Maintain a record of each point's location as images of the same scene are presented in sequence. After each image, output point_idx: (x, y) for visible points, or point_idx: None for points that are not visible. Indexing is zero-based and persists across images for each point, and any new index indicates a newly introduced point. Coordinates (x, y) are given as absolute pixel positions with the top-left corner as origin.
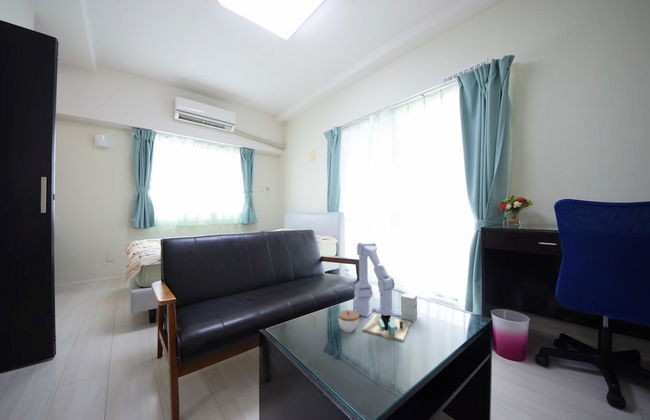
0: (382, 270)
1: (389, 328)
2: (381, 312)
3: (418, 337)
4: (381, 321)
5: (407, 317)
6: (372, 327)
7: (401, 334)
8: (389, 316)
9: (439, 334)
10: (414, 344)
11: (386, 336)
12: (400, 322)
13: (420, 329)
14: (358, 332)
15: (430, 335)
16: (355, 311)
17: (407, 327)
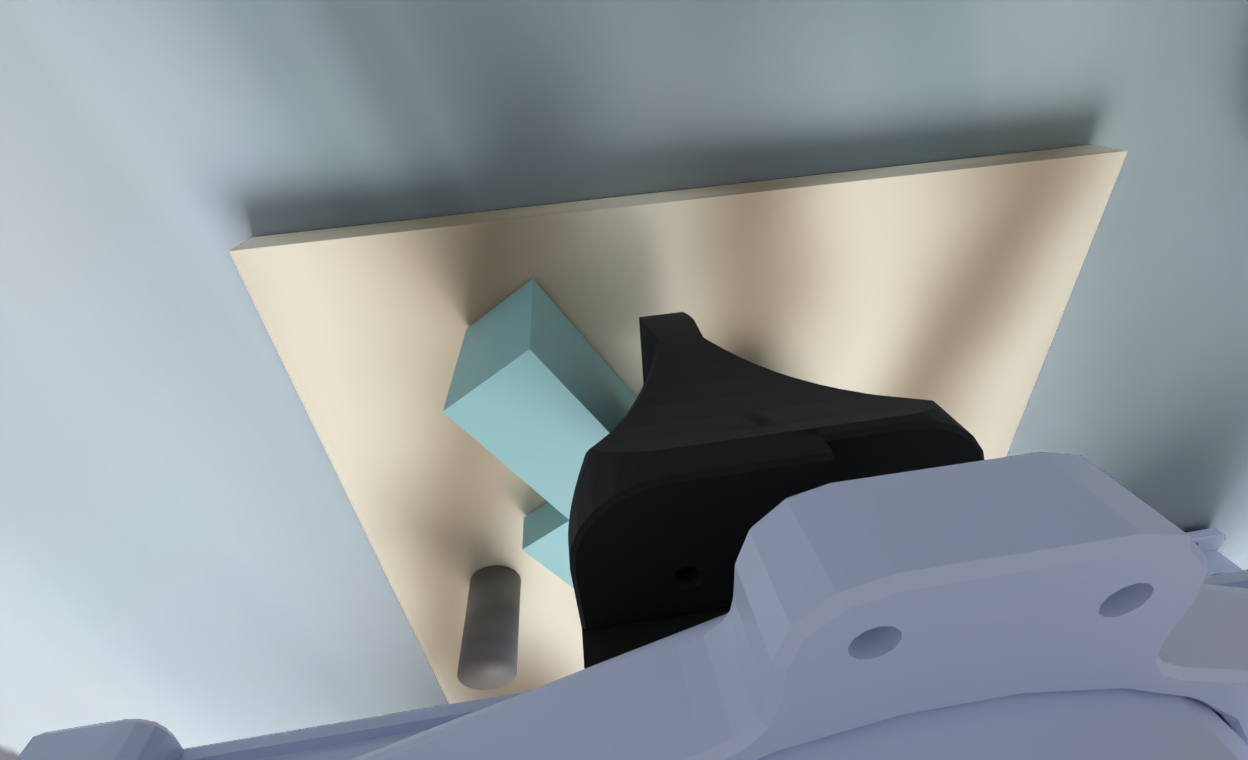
0: None
1: (601, 389)
2: (1205, 654)
3: (170, 516)
4: None
5: None
6: (929, 329)
7: (378, 409)
8: (611, 635)
9: (39, 711)
10: (29, 274)
11: (605, 202)
12: (490, 651)
13: (298, 679)
14: (1184, 28)
15: (95, 641)
16: (1208, 573)
17: (423, 626)
